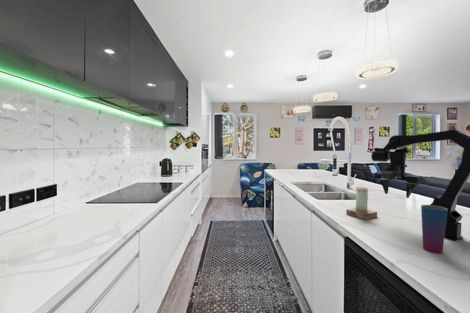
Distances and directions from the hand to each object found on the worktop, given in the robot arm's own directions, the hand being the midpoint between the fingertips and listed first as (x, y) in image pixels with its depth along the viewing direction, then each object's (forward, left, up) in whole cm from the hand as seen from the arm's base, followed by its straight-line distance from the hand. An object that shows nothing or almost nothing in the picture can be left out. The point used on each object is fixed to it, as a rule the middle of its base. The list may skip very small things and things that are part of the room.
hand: (396, 195), depth 102 cm
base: (+14, +4, -13) cm, 20 cm away
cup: (-22, +17, -13) cm, 31 cm away
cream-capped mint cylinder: (+14, +4, -10) cm, 18 cm away
